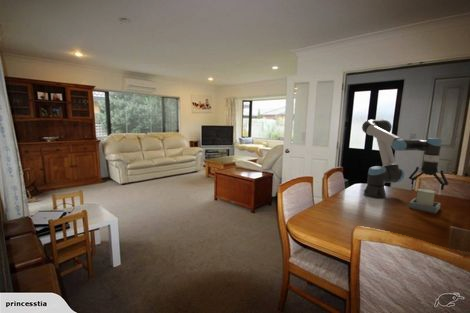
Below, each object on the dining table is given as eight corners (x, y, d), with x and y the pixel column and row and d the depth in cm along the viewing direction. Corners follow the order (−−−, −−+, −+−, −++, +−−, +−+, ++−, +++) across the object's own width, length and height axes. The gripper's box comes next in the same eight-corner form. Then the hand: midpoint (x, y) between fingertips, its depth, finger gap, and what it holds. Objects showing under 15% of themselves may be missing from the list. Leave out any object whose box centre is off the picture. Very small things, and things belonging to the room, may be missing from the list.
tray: (409, 207, 154) (409, 202, 153) (414, 203, 163) (414, 197, 162) (435, 213, 143) (436, 208, 142) (439, 208, 152) (440, 203, 151)
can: (425, 204, 157) (428, 188, 155) (436, 209, 148) (439, 192, 146) (412, 204, 158) (414, 187, 156) (421, 208, 149) (424, 191, 147)
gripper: (406, 159, 155) (402, 188, 159) (456, 164, 136) (450, 197, 140) (409, 158, 160) (405, 186, 163) (457, 163, 141) (451, 195, 144)
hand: (425, 191), depth 152 cm, fingers open, 13 cm apart
